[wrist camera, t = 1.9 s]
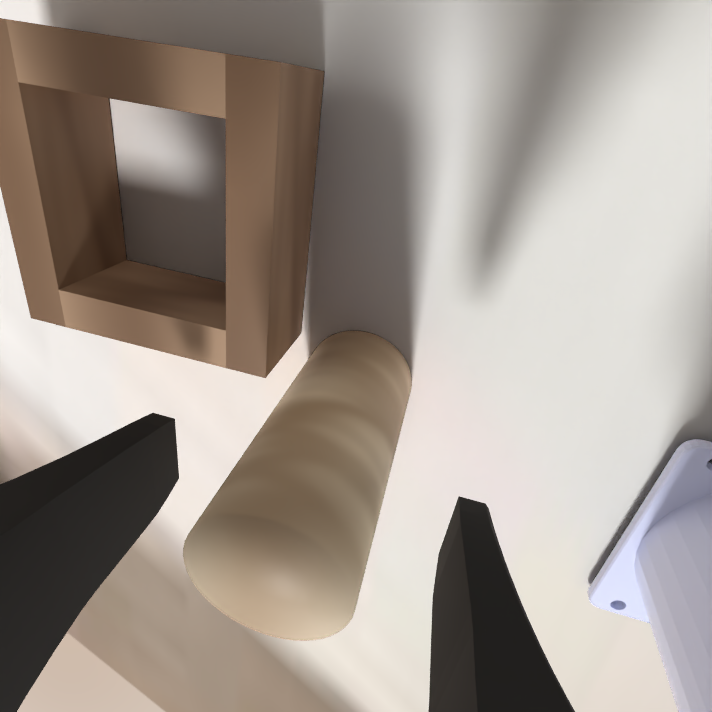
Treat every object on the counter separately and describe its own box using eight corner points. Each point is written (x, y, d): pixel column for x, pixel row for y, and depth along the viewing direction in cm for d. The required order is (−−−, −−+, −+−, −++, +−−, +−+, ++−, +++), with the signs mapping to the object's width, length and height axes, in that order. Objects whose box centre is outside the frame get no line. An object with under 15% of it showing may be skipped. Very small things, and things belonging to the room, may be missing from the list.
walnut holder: (324, 71, 12) (280, 62, 9) (301, 333, 16) (265, 378, 13) (63, 30, 13) (-41, 12, 10) (100, 285, 17) (30, 317, 14)
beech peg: (421, 345, 15) (369, 549, 8) (400, 432, 17) (343, 659, 10) (314, 319, 15) (177, 492, 9) (305, 407, 17) (186, 608, 10)
